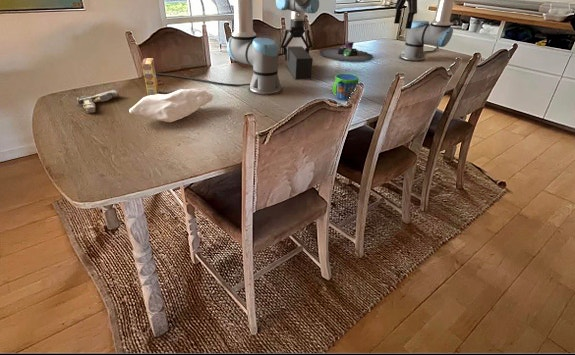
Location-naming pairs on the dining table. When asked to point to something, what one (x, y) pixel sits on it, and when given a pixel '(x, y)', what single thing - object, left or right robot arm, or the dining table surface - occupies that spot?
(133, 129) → the dining table surface
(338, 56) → the grey round platform
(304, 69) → the box
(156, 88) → the candy box
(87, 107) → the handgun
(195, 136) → the dining table surface
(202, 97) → the crumpled cloth
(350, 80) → the snack cup
